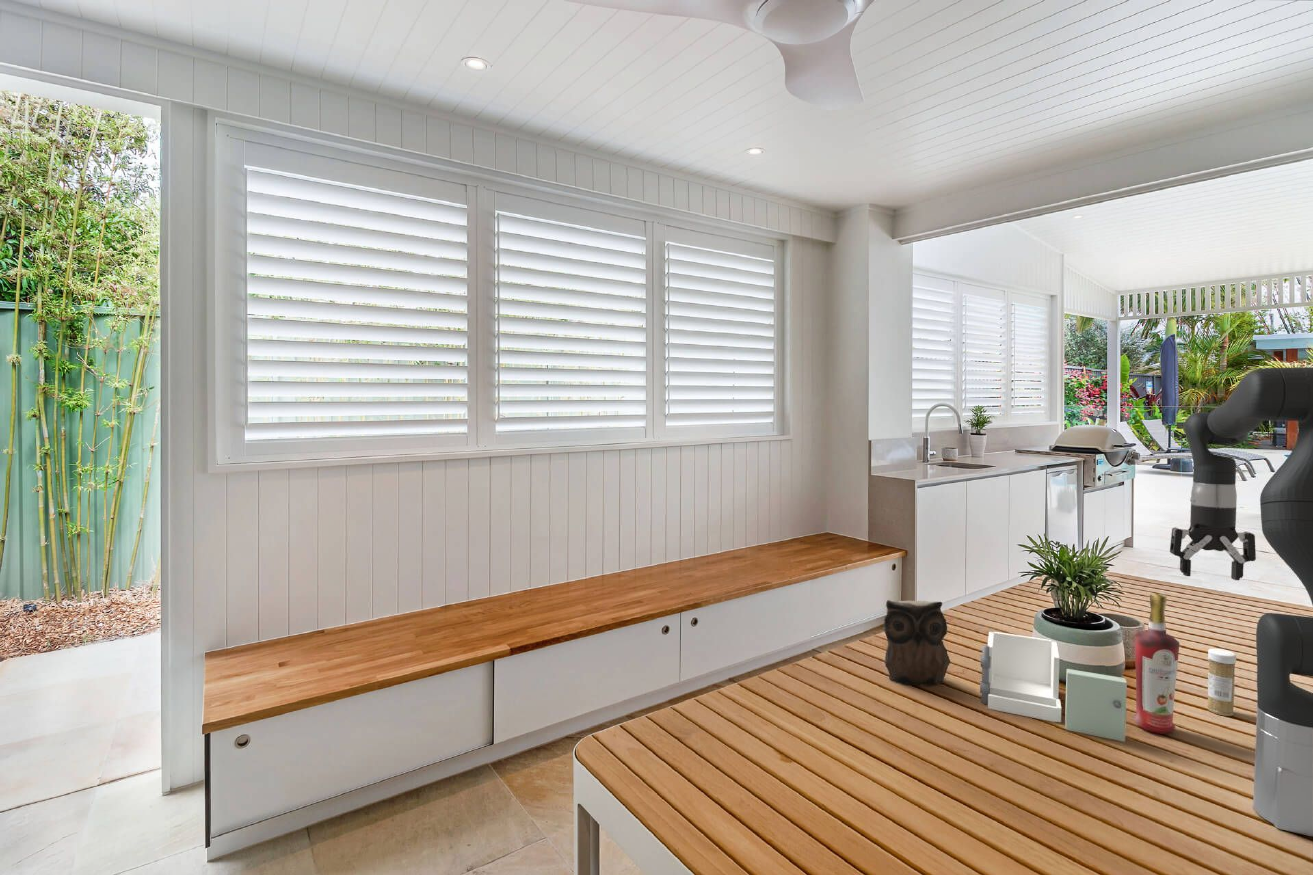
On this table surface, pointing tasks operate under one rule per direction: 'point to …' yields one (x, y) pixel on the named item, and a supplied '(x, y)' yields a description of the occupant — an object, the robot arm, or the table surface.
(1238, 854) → the table surface
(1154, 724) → the liquor
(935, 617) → the owl
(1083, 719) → the door
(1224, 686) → the sprinkles bottle
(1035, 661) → the cabinet
